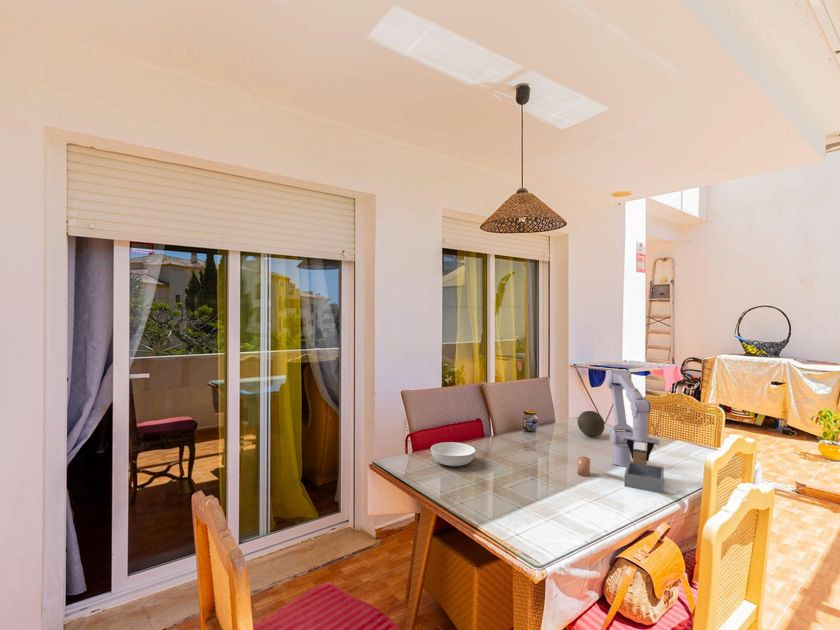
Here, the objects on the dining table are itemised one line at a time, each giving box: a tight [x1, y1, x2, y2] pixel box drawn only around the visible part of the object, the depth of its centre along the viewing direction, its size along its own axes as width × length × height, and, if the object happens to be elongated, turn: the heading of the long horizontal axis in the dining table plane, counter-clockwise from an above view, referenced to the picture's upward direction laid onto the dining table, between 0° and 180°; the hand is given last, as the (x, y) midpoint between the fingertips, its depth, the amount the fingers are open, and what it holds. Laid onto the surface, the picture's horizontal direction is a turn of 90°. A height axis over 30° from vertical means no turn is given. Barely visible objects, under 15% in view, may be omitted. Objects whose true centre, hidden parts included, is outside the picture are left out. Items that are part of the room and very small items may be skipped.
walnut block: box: [632, 448, 648, 466], centre depth 184 cm, size 5×5×5 cm
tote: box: [624, 461, 665, 494], centre depth 180 cm, size 18×14×5 cm
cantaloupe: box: [576, 410, 605, 438], centre depth 246 cm, size 14×14×15 cm
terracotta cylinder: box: [577, 456, 591, 478], centre depth 188 cm, size 5×5×7 cm
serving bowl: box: [430, 441, 477, 467], centre depth 201 cm, size 21×21×7 cm
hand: (640, 459), depth 184 cm, fingers closed on walnut block, 5 cm apart
